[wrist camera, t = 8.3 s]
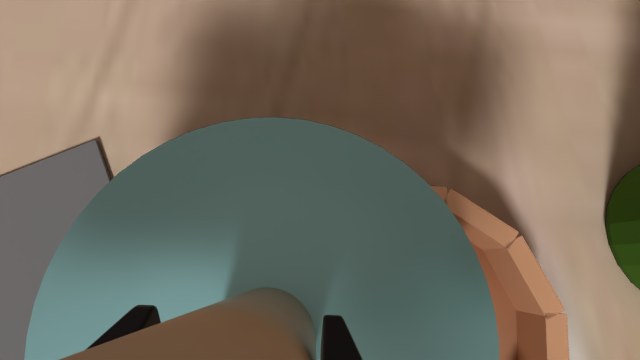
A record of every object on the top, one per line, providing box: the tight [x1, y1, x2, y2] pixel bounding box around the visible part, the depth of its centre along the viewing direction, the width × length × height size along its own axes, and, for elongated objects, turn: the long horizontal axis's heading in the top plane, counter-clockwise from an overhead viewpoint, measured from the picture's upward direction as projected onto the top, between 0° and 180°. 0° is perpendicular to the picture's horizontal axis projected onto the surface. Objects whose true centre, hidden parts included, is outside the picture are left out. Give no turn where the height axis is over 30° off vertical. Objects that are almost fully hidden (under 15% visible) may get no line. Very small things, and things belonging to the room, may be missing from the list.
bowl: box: [431, 186, 569, 360], centre depth 20 cm, size 15×15×4 cm
